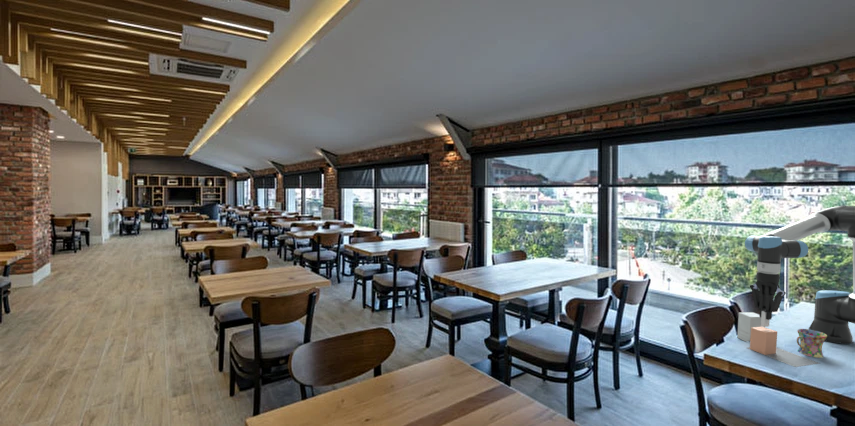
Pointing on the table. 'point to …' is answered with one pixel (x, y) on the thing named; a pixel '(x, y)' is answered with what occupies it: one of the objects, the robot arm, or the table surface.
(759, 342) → the peach tan brick
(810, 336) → the mug
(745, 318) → the supplement box
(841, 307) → the robot arm
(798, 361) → the board
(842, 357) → the table surface
